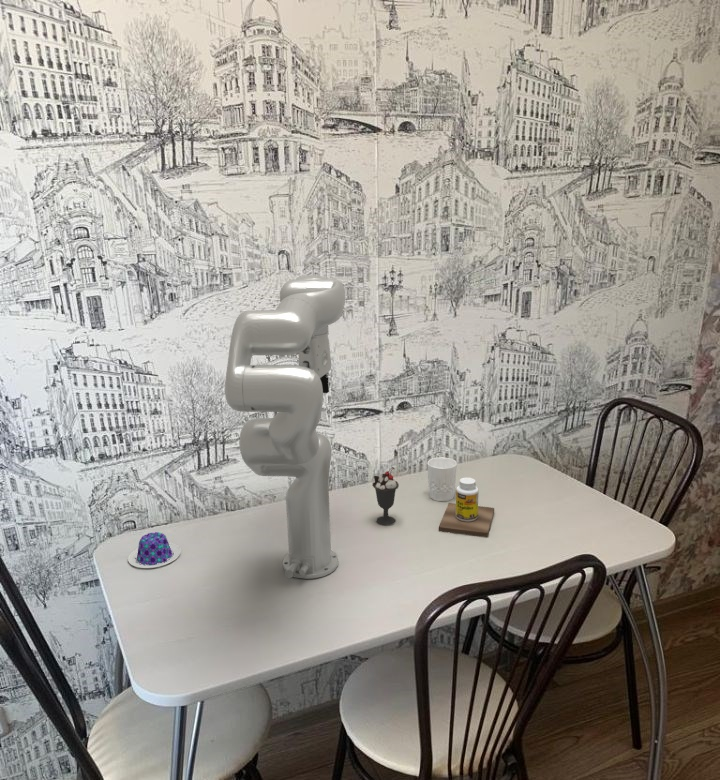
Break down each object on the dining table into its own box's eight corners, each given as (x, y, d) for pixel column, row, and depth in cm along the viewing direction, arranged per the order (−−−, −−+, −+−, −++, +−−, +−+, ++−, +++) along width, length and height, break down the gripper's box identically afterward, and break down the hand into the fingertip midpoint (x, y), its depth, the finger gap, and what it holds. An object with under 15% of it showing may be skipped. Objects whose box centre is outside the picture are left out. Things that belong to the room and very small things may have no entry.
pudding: (147, 576, 152) (144, 555, 151) (118, 559, 160) (115, 539, 158) (191, 555, 161) (189, 535, 160) (162, 539, 169) (159, 520, 167)
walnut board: (487, 537, 165) (487, 532, 165) (438, 531, 169) (438, 526, 169) (494, 512, 178) (494, 507, 178) (448, 506, 182) (448, 502, 181)
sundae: (403, 523, 173) (403, 469, 169) (379, 529, 171) (378, 473, 166) (392, 513, 179) (392, 460, 175) (369, 518, 177) (368, 464, 172)
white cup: (428, 489, 192) (428, 456, 190) (456, 490, 191) (456, 457, 188) (426, 502, 185) (426, 467, 182) (456, 503, 184) (456, 468, 181)
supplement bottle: (453, 520, 171) (453, 483, 169) (458, 511, 176) (459, 474, 174) (475, 524, 169) (476, 486, 167) (479, 514, 174) (480, 477, 172)
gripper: (314, 336, 152) (317, 410, 157) (339, 322, 168) (341, 389, 172) (283, 335, 154) (287, 407, 159) (311, 321, 170) (313, 387, 175)
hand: (315, 398), depth 166 cm, fingers open, 9 cm apart
